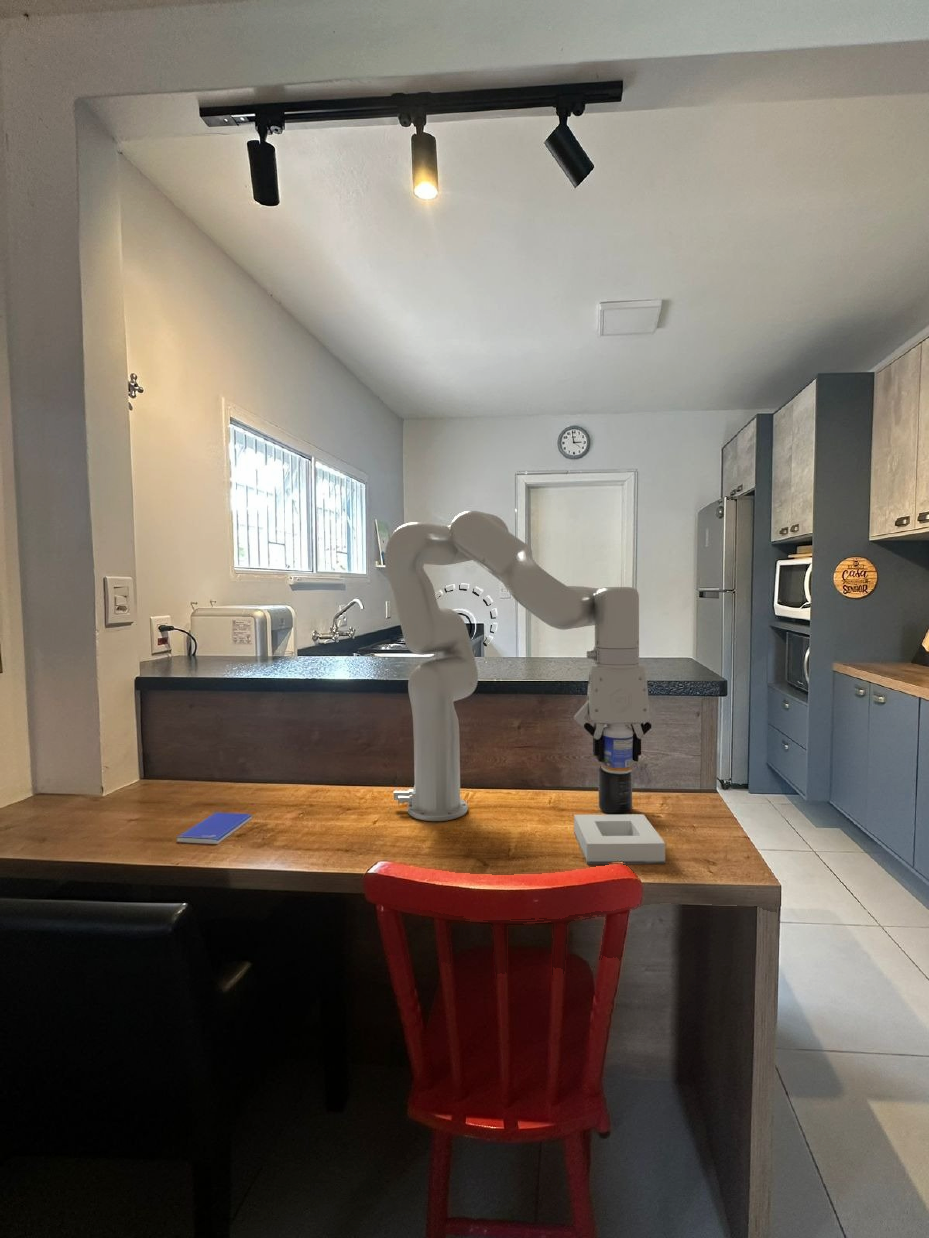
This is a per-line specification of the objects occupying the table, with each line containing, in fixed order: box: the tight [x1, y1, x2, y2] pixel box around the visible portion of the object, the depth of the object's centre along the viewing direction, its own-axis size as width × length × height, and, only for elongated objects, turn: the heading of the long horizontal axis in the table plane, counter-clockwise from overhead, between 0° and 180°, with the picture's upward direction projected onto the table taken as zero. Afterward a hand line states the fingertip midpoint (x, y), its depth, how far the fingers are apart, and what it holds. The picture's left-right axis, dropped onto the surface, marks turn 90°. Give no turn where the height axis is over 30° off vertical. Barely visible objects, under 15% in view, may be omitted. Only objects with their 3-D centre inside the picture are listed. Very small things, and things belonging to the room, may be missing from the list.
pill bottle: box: [600, 724, 634, 774], centre depth 106 cm, size 5×5×10 cm
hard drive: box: [176, 812, 253, 845], centre depth 118 cm, size 2×8×12 cm
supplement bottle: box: [597, 765, 633, 815], centre depth 126 cm, size 7×7×12 cm
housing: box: [573, 813, 666, 865], centre depth 107 cm, size 13×13×4 cm
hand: (616, 758), depth 107 cm, fingers closed on pill bottle, 5 cm apart
